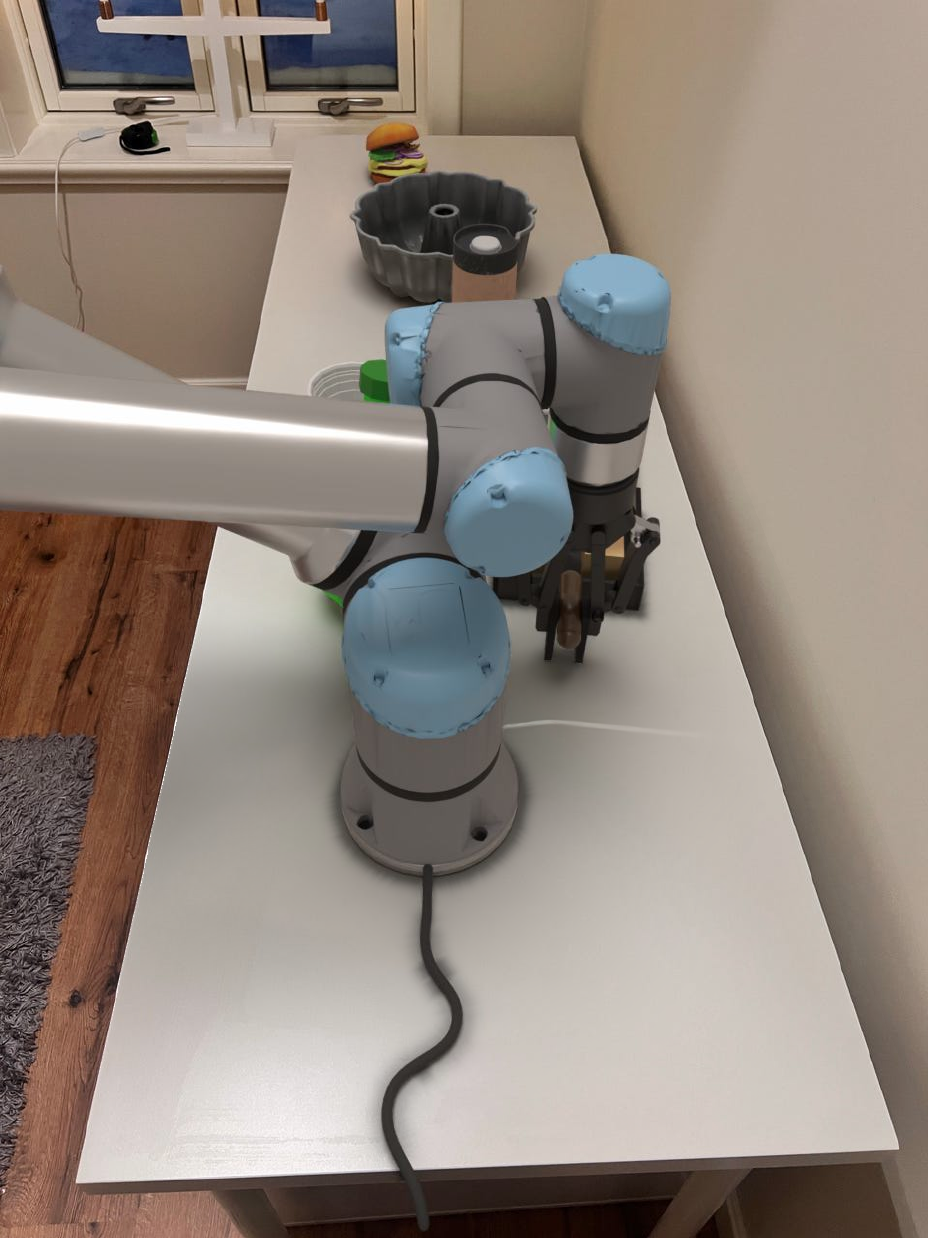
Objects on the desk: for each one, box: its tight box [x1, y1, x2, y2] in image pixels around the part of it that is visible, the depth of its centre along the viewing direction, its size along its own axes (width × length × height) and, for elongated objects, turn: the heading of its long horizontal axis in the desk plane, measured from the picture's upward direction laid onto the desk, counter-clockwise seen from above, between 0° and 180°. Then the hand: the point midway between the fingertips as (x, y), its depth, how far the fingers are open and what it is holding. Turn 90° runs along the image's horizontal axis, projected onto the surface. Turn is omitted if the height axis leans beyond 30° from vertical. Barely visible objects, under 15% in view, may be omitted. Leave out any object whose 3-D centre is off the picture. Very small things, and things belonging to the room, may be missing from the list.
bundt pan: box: [349, 170, 538, 303], centre depth 138 cm, size 26×26×10 cm
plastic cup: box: [306, 361, 365, 401], centre depth 106 cm, size 11×11×12 cm
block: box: [581, 536, 624, 579], centre depth 99 cm, size 4×4×4 cm
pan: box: [491, 486, 645, 651], centre depth 96 cm, size 26×15×8 cm, turn 174°
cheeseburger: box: [365, 121, 429, 184], centre depth 161 cm, size 10×11×10 cm
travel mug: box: [452, 224, 518, 303], centre depth 115 cm, size 8×8×20 cm
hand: (563, 650), depth 92 cm, fingers closed on pan, 2 cm apart
